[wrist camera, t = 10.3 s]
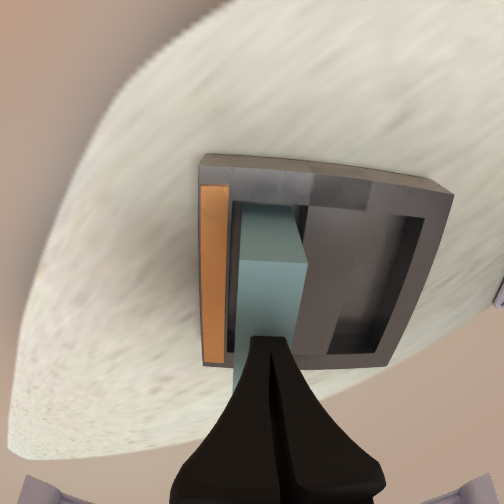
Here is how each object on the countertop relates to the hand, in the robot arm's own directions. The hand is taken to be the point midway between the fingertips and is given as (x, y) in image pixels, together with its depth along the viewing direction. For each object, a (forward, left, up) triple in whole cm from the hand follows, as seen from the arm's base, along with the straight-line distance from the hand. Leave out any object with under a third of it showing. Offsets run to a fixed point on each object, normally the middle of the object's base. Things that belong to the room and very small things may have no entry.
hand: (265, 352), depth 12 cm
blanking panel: (0, 0, -6) cm, 6 cm away
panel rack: (-3, 0, -7) cm, 7 cm away
